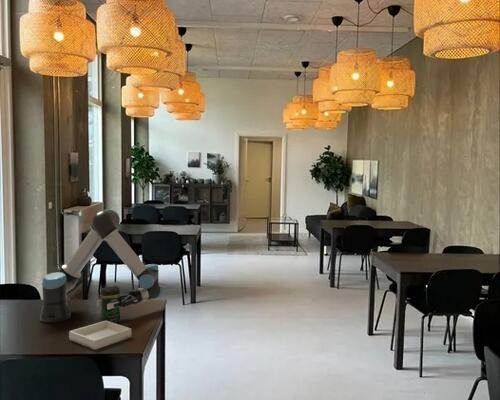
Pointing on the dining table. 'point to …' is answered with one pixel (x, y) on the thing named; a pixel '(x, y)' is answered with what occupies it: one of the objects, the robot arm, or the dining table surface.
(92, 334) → the tray
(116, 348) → the dining table surface
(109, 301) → the coffee jar
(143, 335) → the dining table surface
